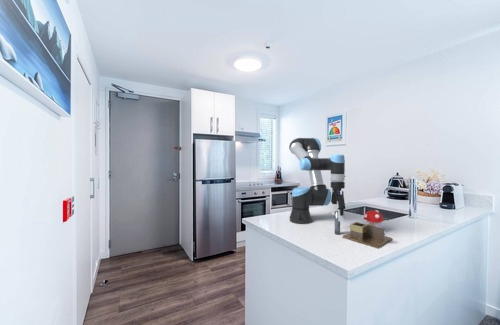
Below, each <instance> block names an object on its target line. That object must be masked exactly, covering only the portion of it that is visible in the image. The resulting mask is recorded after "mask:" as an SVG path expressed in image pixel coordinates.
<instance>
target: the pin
mask: <svg viewBox="0 0 500 325" xmlns="http://www.w3.org/2000/svg"><path fill="white" fill-rule="evenodd" d="M334 234H335V235H337V236H338V235H341V221H338V210H337V211H335V215H334Z"/></svg>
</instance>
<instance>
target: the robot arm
mask: <svg viewBox="0 0 500 325" xmlns="http://www.w3.org/2000/svg"><path fill="white" fill-rule="evenodd" d="M288 148H289V151H290V153H292V154H293V155H295V157H296V158H297V160H298V161H299V168H300V170H301V171H305V172H307V171H308V174H309V180H310V186H309V187H308V186H299V187H298V186H297V187H294V188H293V189H292V191H291V212H290V215H289V221H290V222H291V223H293V224H298V225H299V224H300V225H305V224H310V223H312V222H313V221H312V220H313V218H312V215H311V212H310V207H312V206H313V207H315V206H316V207H317V206H321V207H322V206H328V205H329V204H330V203H331V215H332V216H335V211H338V221H340V222H345V210H346V202H345V197H344V190H342V189H345V188H346V187H345V186H346V182H345V178H346V174H345V172H346V171H345V170H346V169H345V166H346V165H345V162H346V160H345V155H344V154H331V155H330V157H327V158H325V157H323V158H322V157H320V158H319V154H320V152H321V151H322V150H321V149H322V144H321V140H320V139H319V138H316V137H297V138H294V139H293V140H292V141H290V143H289V146H288ZM322 171H330V188H331V189H332V190H331V189H330V188H327V185H326V184H325V183H324V179H323V175H322V174H323V173H322ZM331 191H332V192H331Z"/></svg>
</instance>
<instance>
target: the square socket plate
mask: <svg viewBox="0 0 500 325" xmlns="http://www.w3.org/2000/svg"><path fill="white" fill-rule="evenodd" d="M341 238H342V239H346V240H348V241H352V242H355V243H358V244H362V245H366V246H369V247H373V248H375V249H379V248H381V247H383V246H384V245H386V244H388V243H389V242H391V241H393V237H390V236H387V235H385V228H383V227H381V228H380V227H375V222H371V223H369V224H366V223H363V222H362V223H361V222H357V221H355V222H353V223H351V224H349V232H348V233H345V234H344V235H342V237H341Z"/></svg>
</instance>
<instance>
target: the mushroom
mask: <svg viewBox="0 0 500 325" xmlns="http://www.w3.org/2000/svg"><path fill="white" fill-rule="evenodd" d="M363 220H365V221H366V223H365V224H369V223H371V222H375V227H380V228H382V227H381V226H382V223H383V222H384V221H385V220H384V217H383V214H381V213H380V211H379V210H376V209H375V210H368V211H367V212H365V213H364V214H363Z"/></svg>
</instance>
